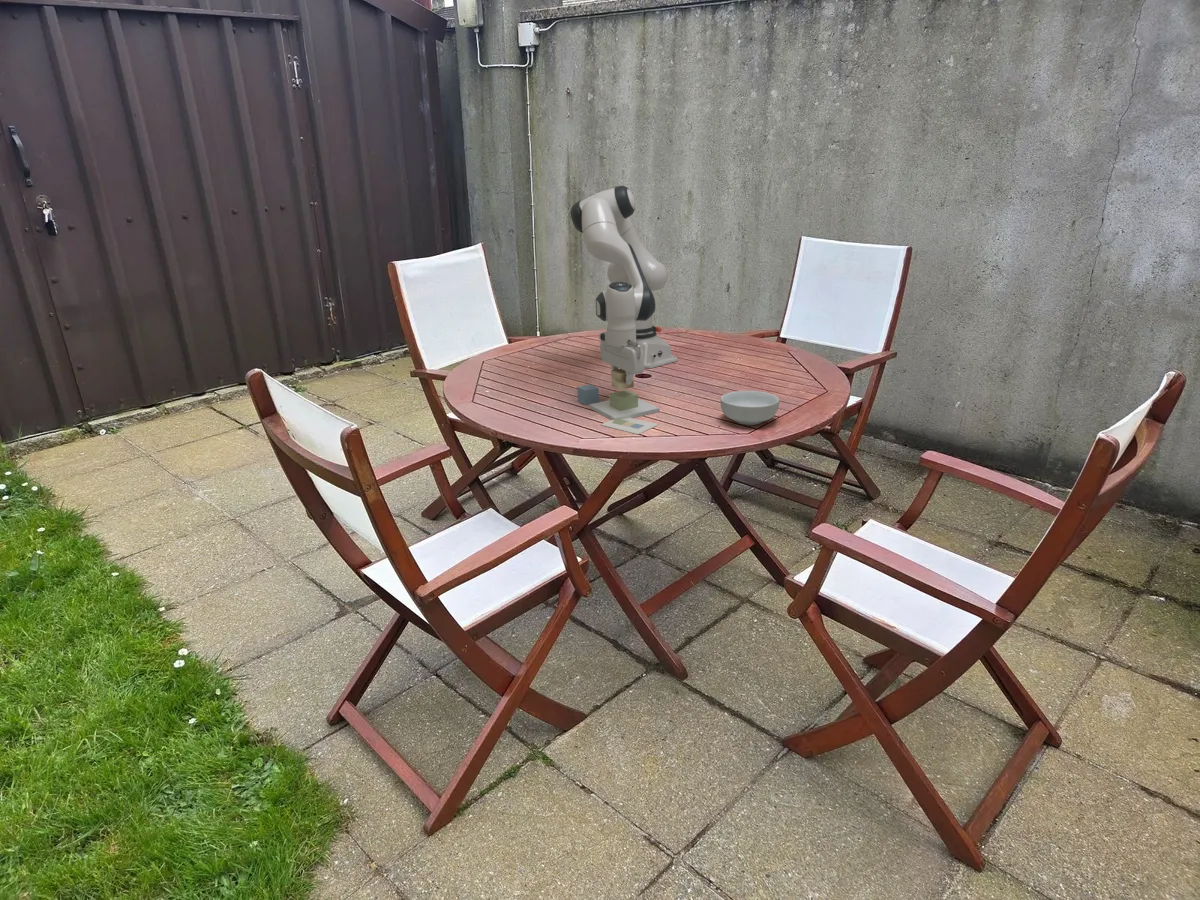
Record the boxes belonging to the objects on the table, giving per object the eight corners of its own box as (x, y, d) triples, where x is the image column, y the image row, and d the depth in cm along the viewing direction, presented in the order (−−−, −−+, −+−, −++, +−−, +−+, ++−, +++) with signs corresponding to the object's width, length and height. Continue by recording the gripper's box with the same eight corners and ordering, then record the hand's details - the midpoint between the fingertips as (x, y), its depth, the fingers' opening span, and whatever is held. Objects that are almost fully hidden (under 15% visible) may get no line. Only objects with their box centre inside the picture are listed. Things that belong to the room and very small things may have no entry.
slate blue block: (591, 398, 246) (590, 384, 244) (598, 402, 242) (598, 387, 240) (578, 401, 244) (577, 386, 242) (585, 405, 240) (584, 390, 238)
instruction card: (621, 416, 228) (621, 415, 228) (658, 424, 220) (658, 424, 220) (600, 425, 221) (600, 424, 221) (638, 434, 213) (638, 433, 213)
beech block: (625, 383, 234) (624, 367, 232) (633, 387, 230) (633, 371, 228) (611, 385, 232) (611, 370, 230) (619, 389, 228) (619, 374, 226)
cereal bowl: (788, 418, 221) (789, 396, 218) (759, 434, 210) (760, 410, 207) (739, 408, 232) (740, 386, 229) (708, 422, 220) (709, 399, 218)
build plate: (632, 399, 244) (631, 383, 242) (659, 411, 231) (659, 395, 229) (589, 408, 237) (588, 392, 235) (615, 421, 224) (614, 405, 222)
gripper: (649, 342, 218) (649, 387, 223) (613, 330, 235) (614, 372, 240) (630, 345, 215) (631, 391, 221) (596, 333, 232) (597, 376, 237)
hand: (622, 381), depth 230 cm, fingers closed on beech block, 5 cm apart
